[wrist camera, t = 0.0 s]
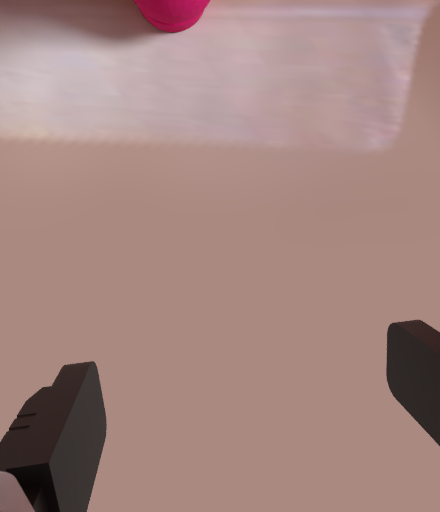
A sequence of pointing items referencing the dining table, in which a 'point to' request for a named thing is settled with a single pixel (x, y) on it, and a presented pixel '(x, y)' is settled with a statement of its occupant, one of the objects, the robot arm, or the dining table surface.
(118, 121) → the dining table surface
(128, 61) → the dining table surface
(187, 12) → the pepper mill
